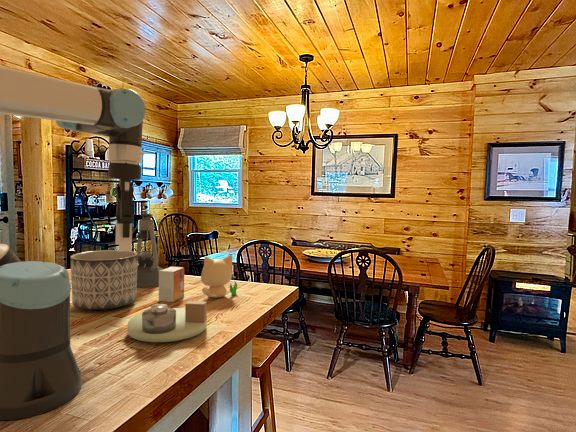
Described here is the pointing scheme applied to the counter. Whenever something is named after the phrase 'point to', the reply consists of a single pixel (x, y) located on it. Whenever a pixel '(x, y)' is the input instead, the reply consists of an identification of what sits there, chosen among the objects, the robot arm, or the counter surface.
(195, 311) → the turntable
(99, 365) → the counter surface
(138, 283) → the lantern
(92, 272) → the planter
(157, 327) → the cover
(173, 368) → the counter surface
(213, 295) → the kitten
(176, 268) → the small box
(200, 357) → the counter surface
